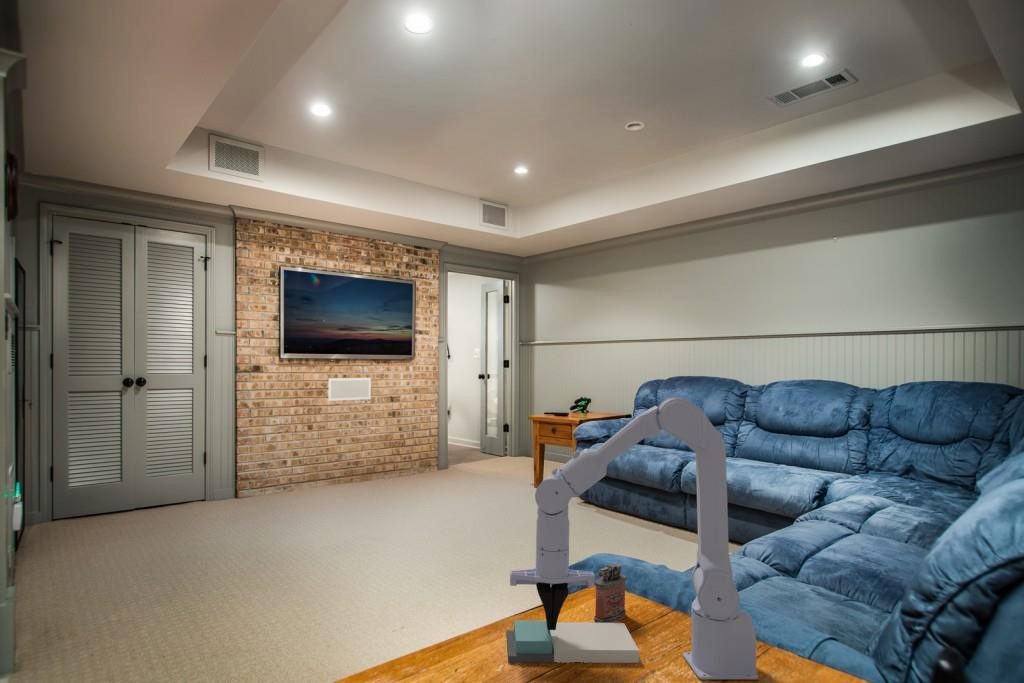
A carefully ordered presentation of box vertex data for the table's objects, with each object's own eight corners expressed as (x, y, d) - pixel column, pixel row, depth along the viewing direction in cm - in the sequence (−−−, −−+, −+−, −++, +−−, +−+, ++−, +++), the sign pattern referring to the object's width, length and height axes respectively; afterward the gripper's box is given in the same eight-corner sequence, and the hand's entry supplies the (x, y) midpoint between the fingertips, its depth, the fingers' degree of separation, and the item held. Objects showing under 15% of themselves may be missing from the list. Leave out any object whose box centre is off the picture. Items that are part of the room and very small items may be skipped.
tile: (547, 632, 101) (547, 620, 101) (552, 653, 93) (552, 641, 93) (513, 631, 100) (513, 620, 101) (515, 653, 92) (516, 640, 93)
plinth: (623, 634, 103) (623, 622, 103) (638, 662, 92) (639, 650, 92) (547, 633, 102) (547, 622, 102) (554, 662, 92) (554, 649, 92)
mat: (547, 636, 101) (547, 630, 101) (554, 662, 92) (554, 656, 92) (506, 635, 101) (506, 630, 101) (508, 662, 91) (508, 656, 92)
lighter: (615, 610, 114) (616, 559, 114) (629, 615, 111) (630, 563, 112) (590, 620, 108) (590, 567, 109) (604, 626, 106) (604, 572, 107)
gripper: (589, 540, 102) (588, 618, 101) (510, 539, 102) (508, 617, 101) (597, 552, 95) (596, 635, 94) (511, 551, 95) (509, 635, 94)
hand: (551, 627), depth 97 cm, fingers closed
